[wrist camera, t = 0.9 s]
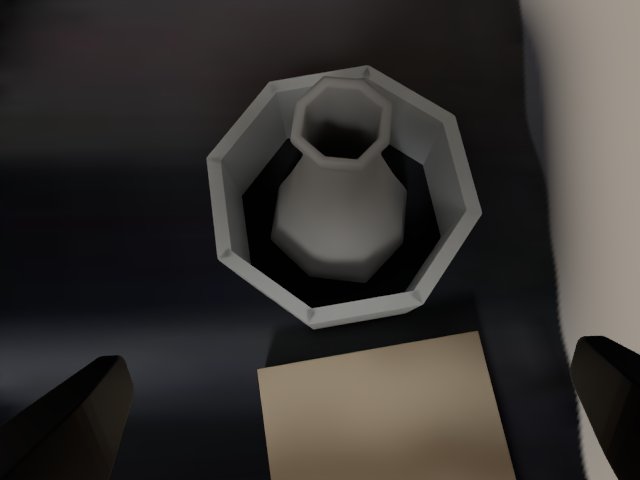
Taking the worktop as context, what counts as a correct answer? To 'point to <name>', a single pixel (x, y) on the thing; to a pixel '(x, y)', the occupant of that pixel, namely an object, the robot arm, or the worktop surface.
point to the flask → (340, 184)
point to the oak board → (386, 415)
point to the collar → (406, 135)
